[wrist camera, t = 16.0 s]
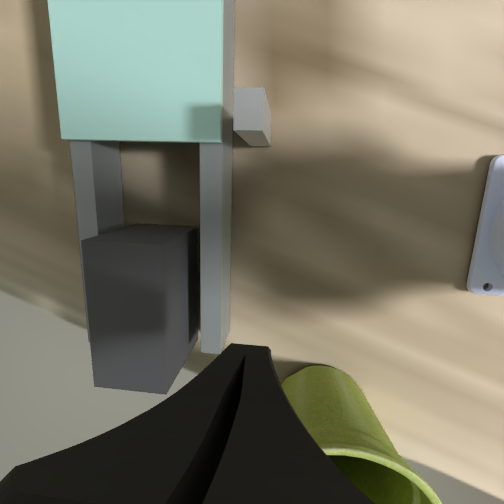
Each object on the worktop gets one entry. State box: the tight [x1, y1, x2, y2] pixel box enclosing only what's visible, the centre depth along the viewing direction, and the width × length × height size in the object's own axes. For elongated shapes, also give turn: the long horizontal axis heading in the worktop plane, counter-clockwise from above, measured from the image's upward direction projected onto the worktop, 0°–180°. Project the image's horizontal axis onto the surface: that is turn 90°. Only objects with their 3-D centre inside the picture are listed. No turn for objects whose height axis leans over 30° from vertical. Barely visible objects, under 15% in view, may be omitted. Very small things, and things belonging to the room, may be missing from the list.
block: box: [81, 224, 198, 394], centre depth 19 cm, size 4×8×6 cm, turn 178°
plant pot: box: [281, 366, 442, 504], centre depth 18 cm, size 9×9×9 cm
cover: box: [48, 0, 224, 143], centre depth 15 cm, size 8×12×1 cm
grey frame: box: [70, 0, 272, 354], centre depth 16 cm, size 11×24×6 cm, turn 178°
